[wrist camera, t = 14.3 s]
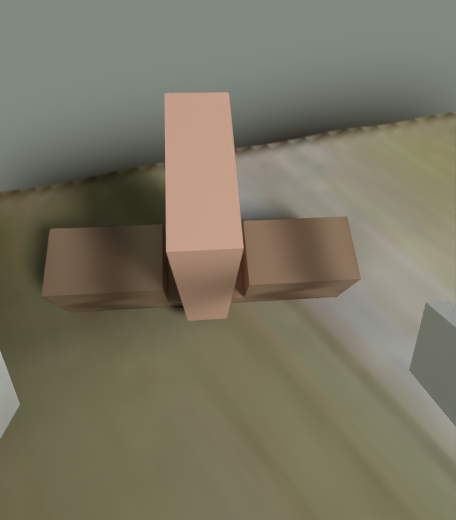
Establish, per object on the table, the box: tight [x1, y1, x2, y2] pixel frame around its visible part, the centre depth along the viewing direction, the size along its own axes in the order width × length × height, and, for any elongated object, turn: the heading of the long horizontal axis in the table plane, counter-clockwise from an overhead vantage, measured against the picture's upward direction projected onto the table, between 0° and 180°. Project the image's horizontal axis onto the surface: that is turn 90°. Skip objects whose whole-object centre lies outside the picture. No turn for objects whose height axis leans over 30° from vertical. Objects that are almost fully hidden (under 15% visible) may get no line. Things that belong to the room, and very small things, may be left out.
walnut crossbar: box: [42, 217, 361, 312], centre depth 27 cm, size 22×5×5 cm, turn 94°
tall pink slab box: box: [165, 92, 244, 321], centre depth 21 cm, size 3×8×14 cm, turn 4°
